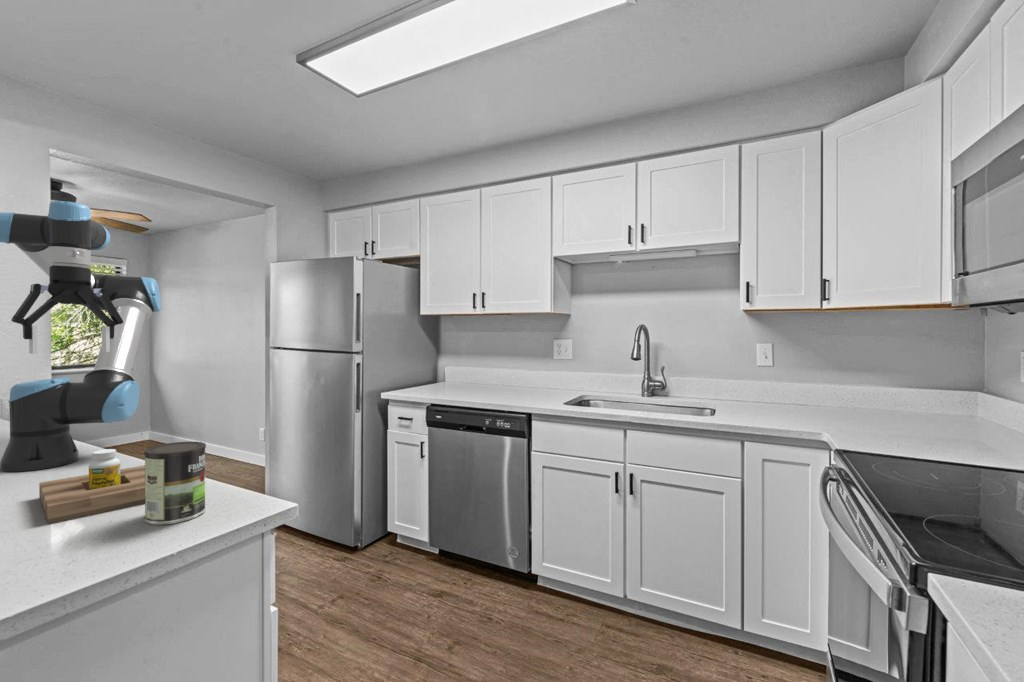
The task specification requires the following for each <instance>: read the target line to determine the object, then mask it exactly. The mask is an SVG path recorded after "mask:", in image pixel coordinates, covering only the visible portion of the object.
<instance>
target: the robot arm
mask: <svg viewBox="0 0 1024 682" xmlns="http://www.w3.org/2000/svg"><path fill="white" fill-rule="evenodd" d="M48 206H49V207H48V208H49V209H48V214H47V215H37V214H29V213H15V212H0V243H4V244H13V245H15V246H17V248H19V249H20V250H21V252H23V253H24V254H25V255H26V256H27V257H28V258H29V259H30V260H31V261H32V262H33V263H34V264H35V265H37V267H38V268H39V269H40V270H42V271H43V272H44V273H45V274H46V275H47V276H48V277H49V282H48V283H49V284H48V285H44V284H40V283H32V284H31V285H30V290H29V294H28V295H27V296H26V298H25V299H24V301H22V303H21V305H20V306H19V308H18V309H17V311H15V313H14V315H13V316H12V317H11V319H10V320H11V322H12V323H16V324H19V325H21V326H22V337H23V339H24V340H28V346H29V347H28V350H29V351H28V353H29V354H32V355H35V354H36V355H38V326H37V325H33V324H34V323H35V322H37V321H38V320H39V319H40V318H41V317H43V316H44V315H45V314H47V313H48V312H49V311H50V310H51V309H52V308H53V307H55V306H56V305H57V304H61V305H68V304H69V305H70V304H71V305H80V306H83V307H86V308H87V309H88V310H89V311H90V312H91V313H93V314H94V316H96V318H98V319H99V320H100V321H101V322H102V323H103V324H104V325H105V326H101V346H100V348H99V350H98V351H99V352H98V355H97V359H96V362H95V364H94V365H95V366H94V367H93V369H92V370H91V371H88V372H87V373H86V374H85V375H84V376H83V380H82V381H81V382H71V379H70V377H56V378H54V377H53V378H47V379H41V380H40V379H39V380H32V381H26V382H20V383H16V384H14V385H13V386H12V387H11V388H10V392H9V400H8V404H9V405H8V406H9V407H8V408H9V441H8V443H7V446H6V448H5V449H4V453H3V455H2V458H1V459H0V470H1V471H4V472H29V471H30V472H31V471H38V470H44V469H51V468H55V467H60V466H65V465H68V464H72V463H73V462H76V461H78V459H79V451H78V448H77V445H76V443H75V442H74V439H73V437H72V434H71V431H70V429H71V428H70V427H71V426H70V425H82V424H85V425H86V424H101V423H102V424H103V423H104V424H105V423H106V424H112V423H114V422H115V423H116V422H119V423H120V422H125V421H127V420H129V419H131V418H132V417H133V416H134V414H135V412H136V411H137V408H138V406H139V402H140V395H141V390H140V385H139V383H138V382H137V381H136V380H135V377H134V376H132V375H131V374H132V370H133V365H134V362H135V358H136V355H137V351H138V346H139V342H140V339H141V335H142V331H143V326H144V323H145V322H146V321H148V320H149V319H150V318H151V317H152V315H153V313H157V312H160V311H161V309H162V301H161V300H162V298H161V292H160V288H159V284H158V281H157V280H156V279H155V278H153V277H145V276H140V275H139V276H125V275H123V276H122V275H108V274H107V275H106V274H94V273H92V270H91V269H90V268H89V267H91V266H92V257H91V256H92V255H91V254H92V251H100V250H102V249H105V248H107V246H109V244H110V241H111V234H110V232H109V231H108V229H107V228H106V227H105V226H104V225H102V224H101V223H99V222H97V221H96V220H92V217H93V216H92V215H91V209H90V207H89V206H88V205H86V204H83V203H80V202H73V201H65V200H55V201H54V200H53V201H52V202H50V203H49V205H48ZM45 291H46V292H48V293H49V294H50V295H51V297H50V298H48V299H47V300H46V301H45V303H43V304H42V305H40V306H39V307H38V308H37V309H35V311H34V312H32V313H31V314H29V316H27V314H28V313H29V311H31V309H32V307H33V305H34V304H35V303H36V302H37V300H38V298H39V296H40V295H41V294H44V293H45ZM104 311H106V312H107V313H108V315H109V316H108V315H107V314H106V313H105V312H104ZM26 316H27V317H26ZM25 317H26V318H25Z"/></svg>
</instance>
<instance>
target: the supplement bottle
mask: <svg viewBox="0 0 1024 682" xmlns="http://www.w3.org/2000/svg"><path fill="white" fill-rule="evenodd" d="M116 457H117V449H115V448H107V449H99V450H96V451H93V452H92V459H93V461H91V462H90V463H89V464H88V475H89V490H93V489H98V488H104V487H109V486H115V485H120V484H121V478H120V469H121V460H120V459H119V458H116Z"/></svg>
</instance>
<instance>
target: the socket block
mask: <svg viewBox="0 0 1024 682" xmlns="http://www.w3.org/2000/svg"><path fill="white" fill-rule="evenodd" d="M120 478H121V484H120V485H115V486H109V487H104V488H98V489H93V490H89V474H85V475H83V474H82V475H78V476H72V477H64V478H60V479H55V480H54V479H53V480H47V481H46V480H45V481H43V482H39V484H38V486H39V494H38V495H39V500H40V504H41V507H42V510H43V513H45V514H44V517H45V516H46V517H45V519H46V522H47V524H48V525H51V524H57V523H60V522H59V521H61V522H64V521H65V520H66V521H69V519H70V520H73V518H75V519H79V518H78V517H80V518H83V517H82V516H84V517H88V516H87V515H89V516H93V514H94V515H97V514H103V513H107V511H108V512H112V511H116V510H121V509H126V508H131V507H136V506H139V505H145V464H144V465H139V466H131V467H126V468H120Z"/></svg>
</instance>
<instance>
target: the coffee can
mask: <svg viewBox="0 0 1024 682" xmlns="http://www.w3.org/2000/svg"><path fill="white" fill-rule="evenodd" d="M206 447H207V445H206V443H205V442H202V441H175V442H169V443H168V442H167V443H163V444H158V445H157V444H156V445H154V446H150V447H148V448H146V449H144V450H143V455H144V465H145V504H144V505H145V507H144V508H145V509H144V511H145V516H144V517H145V518H144V521H145V523H146V524H149V525H153V526H162V525H172V524H178V523H183V522H186V521H190V520H193V519H195V518H198V517H200V516H202V515H203V514H204V513H206V510H207V509H206ZM201 514H202V515H201ZM199 515H200V516H199Z"/></svg>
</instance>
